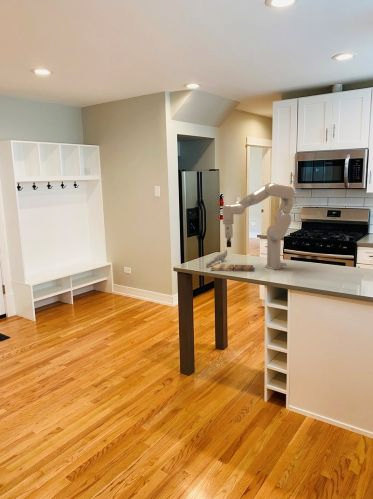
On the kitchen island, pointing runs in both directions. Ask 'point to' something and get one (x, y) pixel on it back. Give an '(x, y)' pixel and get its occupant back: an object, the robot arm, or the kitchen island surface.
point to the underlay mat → (233, 270)
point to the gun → (217, 259)
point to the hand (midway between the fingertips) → (229, 246)
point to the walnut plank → (243, 268)
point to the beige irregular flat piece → (223, 267)
